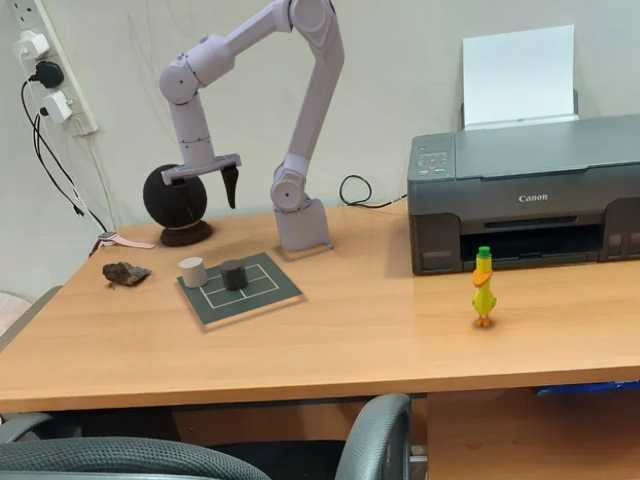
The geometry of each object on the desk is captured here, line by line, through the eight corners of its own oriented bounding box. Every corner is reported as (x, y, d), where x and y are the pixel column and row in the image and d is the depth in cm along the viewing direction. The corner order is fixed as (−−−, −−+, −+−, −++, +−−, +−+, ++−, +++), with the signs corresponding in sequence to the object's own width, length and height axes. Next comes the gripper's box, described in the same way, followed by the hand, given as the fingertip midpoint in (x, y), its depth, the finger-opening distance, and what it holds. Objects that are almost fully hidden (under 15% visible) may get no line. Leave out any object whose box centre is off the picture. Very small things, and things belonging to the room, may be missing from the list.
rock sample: (164, 252, 129) (122, 236, 122) (162, 289, 127) (119, 275, 121) (137, 268, 136) (96, 254, 129) (135, 303, 134) (93, 290, 128)
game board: (266, 257, 131) (264, 251, 130) (305, 300, 115) (303, 293, 114) (177, 283, 127) (175, 277, 126) (205, 331, 110) (203, 325, 110)
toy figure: (488, 336, 99) (489, 261, 91) (465, 334, 100) (463, 260, 92) (499, 314, 103) (500, 241, 96) (476, 312, 105) (476, 239, 97)
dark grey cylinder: (244, 277, 122) (239, 256, 120) (251, 286, 119) (246, 265, 116) (221, 284, 121) (216, 263, 119) (228, 293, 118) (222, 272, 115)
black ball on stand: (192, 250, 138) (171, 177, 129) (144, 246, 143) (120, 175, 134) (227, 225, 147) (210, 155, 138) (181, 222, 152) (161, 154, 143)
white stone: (205, 274, 125) (199, 254, 123) (211, 283, 122) (205, 263, 119) (182, 281, 124) (176, 261, 121) (187, 290, 121) (181, 269, 118)
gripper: (226, 124, 123) (243, 197, 132) (150, 142, 120) (172, 216, 128) (237, 132, 118) (253, 207, 127) (157, 151, 114) (180, 227, 123)
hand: (213, 212), depth 127 cm, fingers open, 7 cm apart
